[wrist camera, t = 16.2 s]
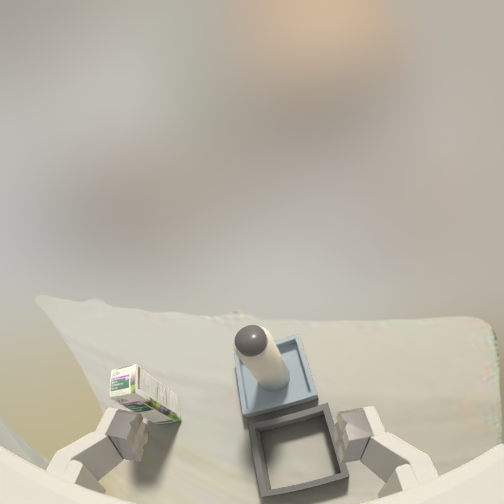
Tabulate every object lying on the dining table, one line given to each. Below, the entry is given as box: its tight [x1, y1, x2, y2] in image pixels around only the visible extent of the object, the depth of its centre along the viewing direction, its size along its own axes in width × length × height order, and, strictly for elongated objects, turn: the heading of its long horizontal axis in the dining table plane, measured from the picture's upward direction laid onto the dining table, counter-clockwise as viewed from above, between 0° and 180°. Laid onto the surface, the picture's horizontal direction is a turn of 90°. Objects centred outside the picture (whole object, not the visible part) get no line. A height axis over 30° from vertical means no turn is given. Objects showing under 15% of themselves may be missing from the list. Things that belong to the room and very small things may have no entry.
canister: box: [234, 325, 290, 391], centre depth 42 cm, size 6×6×14 cm
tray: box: [234, 334, 318, 418], centre depth 46 cm, size 13×13×2 cm
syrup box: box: [110, 364, 181, 424], centre depth 43 cm, size 6×6×14 cm
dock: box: [248, 403, 349, 497], centre depth 34 cm, size 13×13×3 cm
